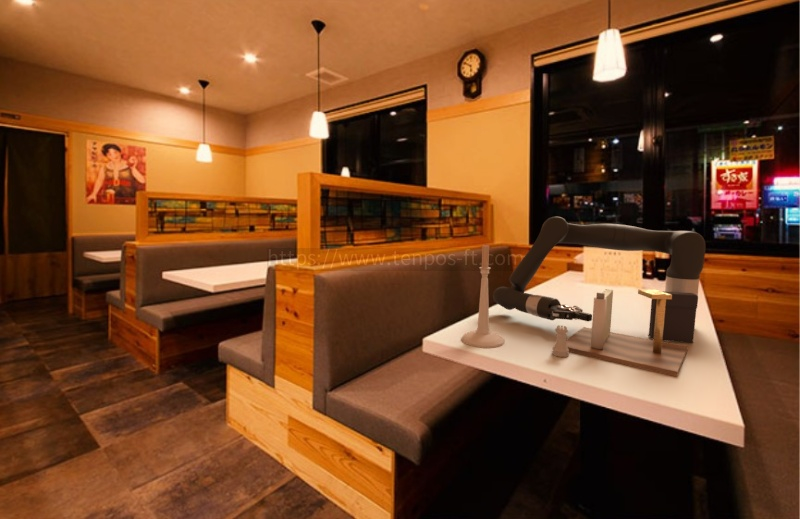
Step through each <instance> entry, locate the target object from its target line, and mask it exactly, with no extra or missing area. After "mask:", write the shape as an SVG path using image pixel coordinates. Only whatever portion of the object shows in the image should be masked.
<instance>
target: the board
mask: <svg viewBox="0 0 800 519" xmlns="http://www.w3.org/2000/svg"><path fill="white" fill-rule="evenodd" d="M591 337H592V327H586V326H583V327H582V328H580V329H579V330H577V331H576V332H575V333H573V334H572V335H571V336H569V337H568V338H566V345H567V347H568V349H569V352H568V353H573V354H577V355H581V354H582V356H587V357H590V358H591V357H592V358H593V359H594V358H595V359H600V360H603V361H608V362H613V363H617V364H620V365H625V366H629V367H634V368H639V369H642V370H646V371H652V372H655V373H660V374H664V375H668V376H672V377H678V375H679V373H680V371H681V370H680V369H681V367H682V364H683V362H684V360H685V358H686V355H687V352H688V348H689V346H687V345H682V344H677V343H673V342H668V341H662V351H661V353H660V354H659V353H654V352H653V341H654V340H653V339H651V338H645V337H640V336H635V335H628V334H623V333H617V332H612V331H610V335H609V336H608V338H607V339H606V341H605V342H604V348H603V349H596V348H593V347H591Z"/></svg>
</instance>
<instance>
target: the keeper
mask: <svg viewBox="0 0 800 519" xmlns="http://www.w3.org/2000/svg"><path fill="white" fill-rule="evenodd" d="M637 294H638V295H640V296H644V297H646V298H648V299H651V300H652V299H657V305H656V317H655V329H654V341H653V352H654V353H659V354H660V353H661V351H662V342H663V328H664V317H665V305H666V299H672V295H671V294H668V293H665V292H662V291H661V290H658V289H640V288H639V289H638V290H637Z"/></svg>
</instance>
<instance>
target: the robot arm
mask: <svg viewBox="0 0 800 519" xmlns="http://www.w3.org/2000/svg"><path fill="white" fill-rule="evenodd" d="M557 244H576V245H582V246H583V245H584V246H588V247H595V248H600V249H607V250H615V251H626V252H635V251H640V252H641V251H647V252H648V251H650V252H656V253H657V252H658V253H662V254H667V255H671V258H670V265H669V266H668V267H667V269H666V273H665V274H666V275H665V289H664V291H665V292H682V293H693V294H695V295H697V296H698V297H699V285H700V276H701V273H702V271H703V269H704V262H705V256H706V248H707V247H706V241H705V239H704V237H703V236H702V235H701V234H700V233H698V232H696V231H690V230H652V229H646V228H642V227H637V226H634V225H633V226H632V225H626V224H617V223H593V224H577V223H576V224H574V223H570V222H569V223H568V222H567V221H566V219H565V218H563V217H561V216H552V217H549V218H547V219H546V220H545V221H544V222H543V224H542V226H541V229H540V231H539V233H538V236H537V238H536V240H535V242H534V243H533V244H532V246H531V247H530V249H529V251H527V253H526V254H525V255H524V257H523V258H522V259H521V260H520V262H519V263H518V264H517V266H516V267H515V269H514V270H513V271H512V273H511V275H510V276H509V278H508V281H509V282H510V284H511V285H510V287H509V286H508V287H507V286H500V287H497V288H496V289H495V290H493V294H492V298H493V301H494V302H495V303H496V304H497V305H498V306H499V305H500V307H502V308H503V309H506V310H509V311H511V310H513V309H516V310H517V311H519V312H522V313H526V314H529V315H532V316H534V317H537V318H540V319H541V318H542V319H545V320H550V321H555V320H556V319H557V320H566V321H567V320H569V321H572V320H574V321H575V320H579V321H585V322H592V321H593V313H589V312H584V311H583V309H582V308H580V307H579V306H577V305H573V306H570V305H567V304H561V302H560V301H559V299H558V298H556V297H555V298H554V297H550V296H545V295H540V294H532V293H528V292H525V291H526V288H527V286H528V285H529V283H530V282H531V281H532V279H533V278H534V277H535V275H536V273H537V272H538V269H539V268H541V267H540V266H541V265H542V264H543V262H544V260H545V259H546V257H547V256H548V254H549V253H550V252H551V251H552V250H553V248H554V247H555V246H557ZM539 270H540V269H539ZM696 318H697V315H696V316H695V319H696ZM695 327H696V325H695V326H694V329H695Z"/></svg>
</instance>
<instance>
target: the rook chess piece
mask: <svg viewBox="0 0 800 519" xmlns="http://www.w3.org/2000/svg"><path fill="white" fill-rule="evenodd" d="M555 332H556V336H555V337H556V340H555V343H554V345H553V347H552V351H551V353H552V354H553V355H554V356H555V357H558V358H568V356H570V352H569V349H568V347H567V345H566V339H567V337H568V335H567V334H568V332H569V330H568V327H567V326H565V325H557V326H556V328H555Z"/></svg>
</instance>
